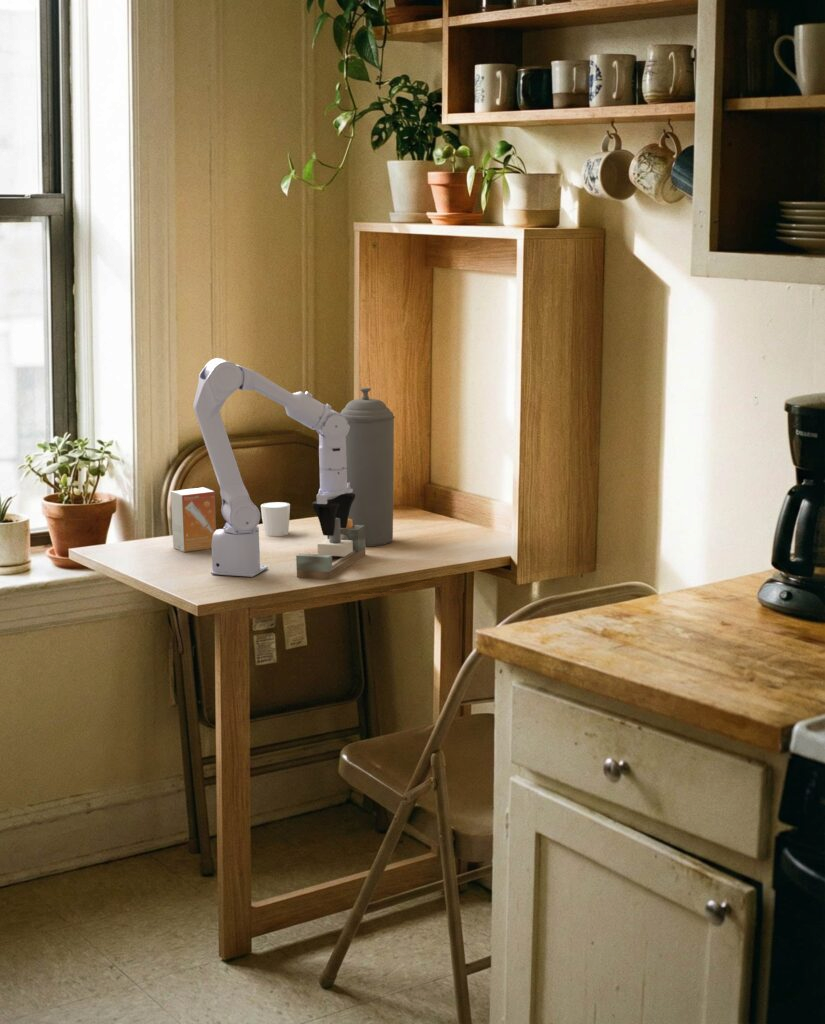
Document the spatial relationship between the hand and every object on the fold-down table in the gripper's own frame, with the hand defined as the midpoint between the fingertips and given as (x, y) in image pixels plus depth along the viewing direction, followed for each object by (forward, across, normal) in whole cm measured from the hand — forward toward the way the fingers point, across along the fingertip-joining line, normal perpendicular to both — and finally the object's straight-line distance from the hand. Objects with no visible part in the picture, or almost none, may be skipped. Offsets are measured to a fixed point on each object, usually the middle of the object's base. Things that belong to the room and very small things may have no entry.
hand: (334, 531), depth 286 cm
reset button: (+2, +7, 0) cm, 7 cm away
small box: (+7, +6, +36) cm, 37 cm away
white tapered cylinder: (+7, +24, +24) cm, 35 cm away
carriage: (+5, 0, 0) cm, 5 cm away
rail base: (+7, -2, 0) cm, 7 cm away
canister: (+7, +21, 0) cm, 22 cm away
